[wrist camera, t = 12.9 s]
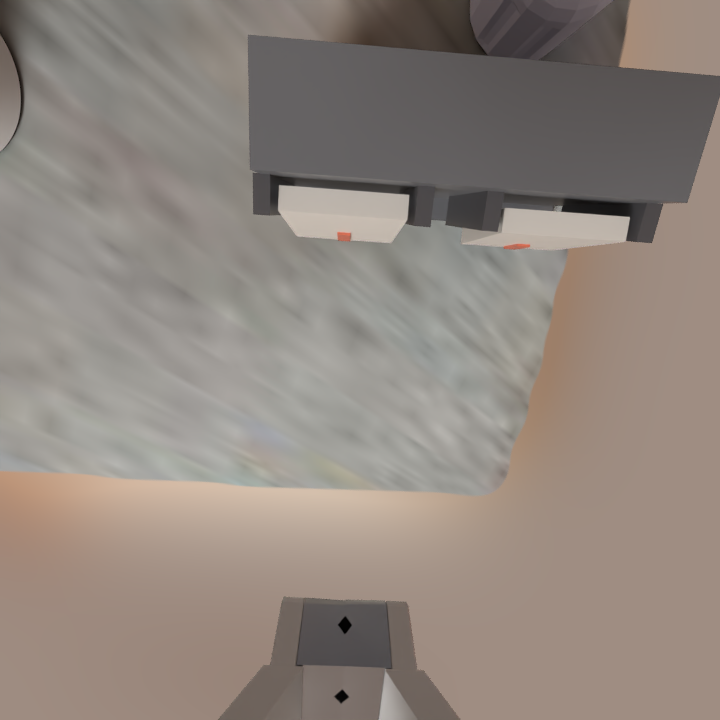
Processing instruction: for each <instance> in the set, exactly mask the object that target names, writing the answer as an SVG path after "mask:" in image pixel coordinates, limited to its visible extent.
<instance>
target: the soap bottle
mask: <svg viewBox="0 0 720 720" xmlns="http://www.w3.org/2000/svg"><path fill="white" fill-rule="evenodd" d="M612 1H614V0H470V21H471V25H472V28H473V31H474V34H475V38H476V40H477V41H478V43H479V44H480V46H481V47H482V48H483V50H484V51H485V52H486V54H487V55H489V56H496V57H507V58H519V59H530V60H539V59H541V58H542V57H543V56H545V55H546V54H547V53H549V52H550V51H552V50H553V49H554V48H555V47H557V46H558V45H559V44H560V43H562V42H563V41H564V40H565V39H567V38H568V37H569V36H570V35H572V34H573V33H574V32H575V31H577V30H578V29H579V28H580V27H581V26H583V25H584V24H585V23H586V22H588V21H589V20H590V19H591V18H593V17H594V16H595V15H596V14H598V13H599V12H600V11H601V10H603V9H604V8H605V7H606V6H608V5H609V4H610V3H611V2H612Z"/></svg>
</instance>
